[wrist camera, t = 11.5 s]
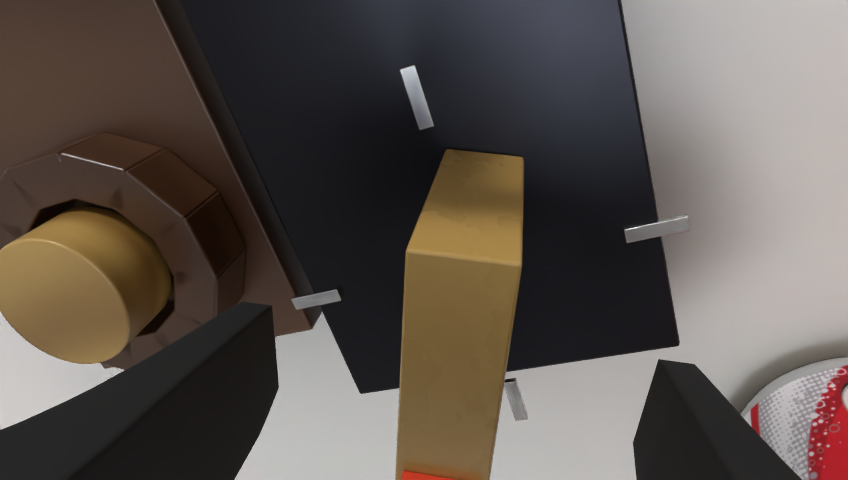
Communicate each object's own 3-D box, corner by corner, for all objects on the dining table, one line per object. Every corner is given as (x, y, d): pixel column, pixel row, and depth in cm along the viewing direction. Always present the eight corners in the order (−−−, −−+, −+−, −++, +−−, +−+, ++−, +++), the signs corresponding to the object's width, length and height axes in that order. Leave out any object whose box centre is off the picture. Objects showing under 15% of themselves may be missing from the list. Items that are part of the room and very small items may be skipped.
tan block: (445, 147, 13) (401, 256, 9) (524, 156, 13) (522, 272, 8) (430, 355, 16) (391, 521, 11) (495, 364, 16) (481, 537, 11)
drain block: (-42, 34, 17) (-188, 57, 14) (178, -61, 15) (72, -62, 12) (141, 331, 22) (66, 407, 18) (334, 292, 19) (291, 369, 16)
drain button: (21, 222, 16) (-41, 257, 14) (128, 191, 15) (75, 224, 13) (92, 330, 17) (43, 374, 15) (194, 309, 16) (154, 353, 14)
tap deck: (131, -202, 14) (33, -238, 11) (562, -428, 11) (574, -552, 8) (381, 373, 21) (359, 441, 18) (686, 325, 18) (714, 395, 15)
